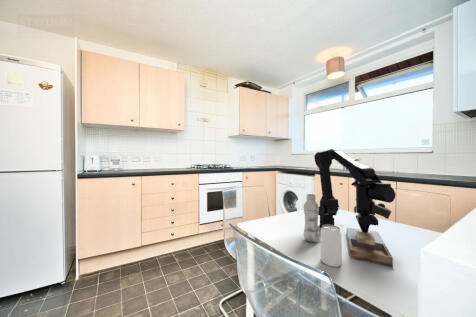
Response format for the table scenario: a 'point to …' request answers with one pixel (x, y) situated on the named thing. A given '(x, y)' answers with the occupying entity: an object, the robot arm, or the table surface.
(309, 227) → the plastic bottle
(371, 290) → the table surface
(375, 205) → the robot arm
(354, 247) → the box
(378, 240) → the plate
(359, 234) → the tile
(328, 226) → the can
